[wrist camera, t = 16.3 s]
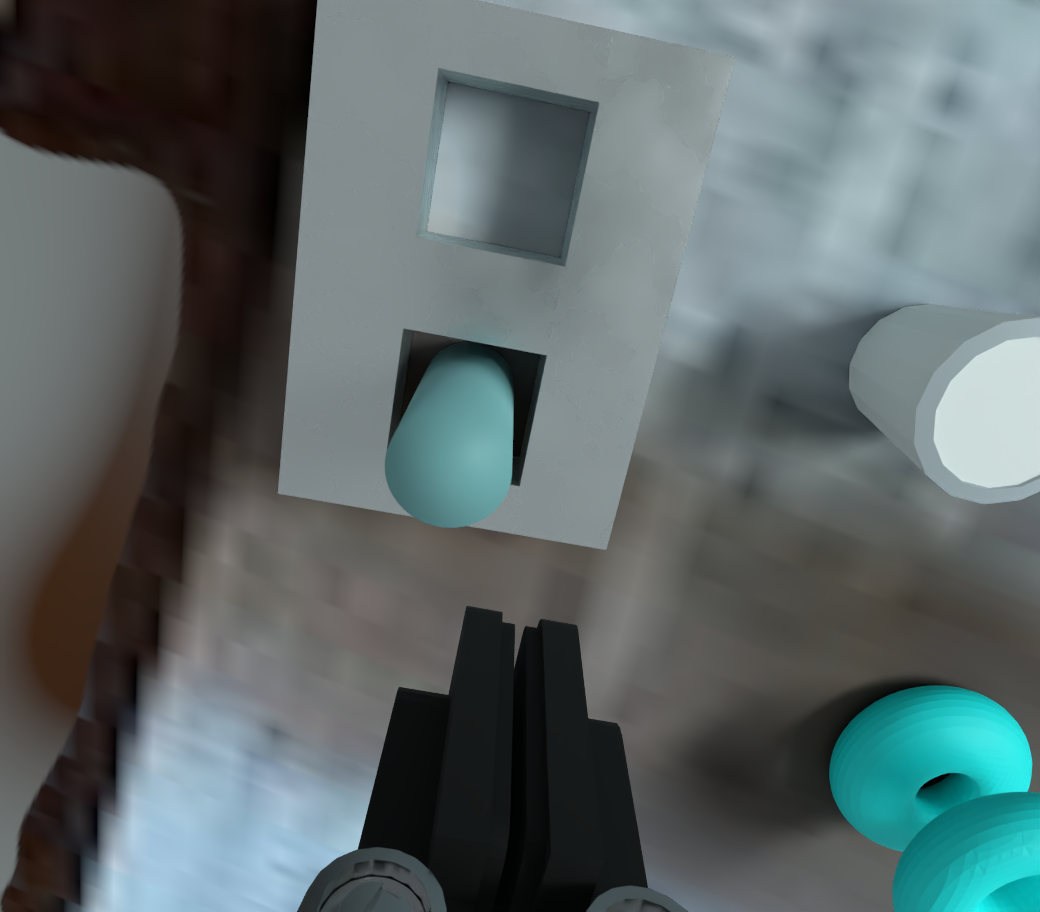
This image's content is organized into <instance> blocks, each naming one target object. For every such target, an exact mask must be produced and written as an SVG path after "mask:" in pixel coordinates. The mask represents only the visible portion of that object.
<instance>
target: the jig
mask: <svg viewBox="0 0 1040 912" xmlns="http://www.w3.org/2000/svg"><path fill="white" fill-rule="evenodd" d="M735 58H736V57H732V56H728V55H723V54H718V53H714V52H709V51H705V50H700V49H696V48H691V47H687V46H682V45H678V44H673V43H669V42H664V41H660V40H655V39H651V38H646V37H642V36H637V35H633V34H628V33H624V32H619V31H614V30H610V29H605V28H601V27H596V26H592V25H587V24H583V23H578V22H574V21H569V20H565V19H560V18H556V17H551V16H547V15H542V14H538V13H533V12H529V11H524V10H520V9H515V8H511V7H506V6H501V5H497V4H492V3H488V2H483V1H479V0H317V13H316V25H315V38H314V50H313V63H312V75H311V88H310V100H309V112H308V125H307V137H306V150H305V162H304V175H303V187H302V200H301V212H300V224H299V237H298V249H297V262H296V274H295V287H294V299H293V312H292V324H291V336H290V349H289V361H288V374H287V386H286V399H285V411H284V424H283V436H282V448H281V461H280V473H279V486H278V494H284V495H289V496H295V497H301V498H307V499H313V500H319V501H324V502H330V503H336V504H342V505H348V506H354V507H359V508H365V509H371V510H377V511H383V512H389V513H394V514H400V515H406V516H411V515H410V514H409V513H407V512H406V511H405V510H404V509H403V508H402V507H401V506H400V505H399V504H398V503H397V501H396V500H395V498H394V497H393V495H392V493H391V491H390V489H389V487H388V484H387V481H386V476H385V457H386V452H387V449H388V446H389V444H390V442H391V440H392V438H393V436H394V434H395V432H396V430H397V428H398V426H399V424H400V420H401V413H402V406H403V399H404V392H405V385H406V377H407V370H408V363H409V356H410V349H411V342H412V335H413V330H415V331H420V332H425V333H431V334H436V335H441V336H447V337H452V338H457V339H463V340H468V341H473V342H478V343H484V344H489V345H494V346H500V347H505V348H510V349H515V350H521V351H526V352H531V353H537V354H541V355H540V360H539V364H538V369H537V374H536V379H535V384H534V389H533V394H532V399H531V404H530V408H529V413H528V418H527V423H526V428H525V433H524V438H523V443H522V448H521V452H520V457H519V456H514V455H513V457H512V478H511V484H510V487H509V490H508V492H507V495H506V497H505V498H504V500H503V502H502V503H501V504H500V505H499V507H498V508H497V509H496V510H495V511H494V512H493V513H492V514H490V515H489V516H487V517H486V518H484V519H482V520H481V521H479V522H476V523H474V524H471V525H467V526H470V527H476V528H482V529H488V530H493V531H499V532H505V533H511V534H517V535H523V536H528V537H534V538H540V539H546V540H552V541H558V542H563V543H569V544H575V545H581V546H587V547H593V548H598V549H604V550H606V549H607V546H608V542H609V538H610V534H611V530H612V527H613V523H614V519H615V515H616V511H617V508H618V504H619V500H620V496H621V492H622V488H623V485H624V481H625V477H626V473H627V469H628V466H629V462H630V458H631V454H632V450H633V447H634V443H635V439H636V435H637V431H638V427H639V424H640V420H641V416H642V412H643V408H644V405H645V401H646V397H647V393H648V389H649V386H650V382H651V378H652V374H653V370H654V366H655V363H656V359H657V355H658V351H659V347H660V344H661V340H662V336H663V332H664V328H665V325H666V321H667V317H668V313H669V309H670V305H671V302H672V298H673V294H674V290H675V286H676V283H677V279H678V275H679V271H680V267H681V264H682V260H683V256H684V252H685V248H686V244H687V241H688V237H689V233H690V229H691V225H692V222H693V218H694V214H695V210H696V206H697V203H698V199H699V195H700V191H701V187H702V183H703V180H704V176H705V172H706V168H707V164H708V161H709V157H710V153H711V149H712V145H713V142H714V138H715V134H716V130H717V126H718V123H719V119H720V115H721V111H722V107H723V103H724V100H725V96H726V92H727V88H728V84H729V81H730V77H731V73H732V69H733V65H734V62H735ZM448 82H452V83H457V84H462V85H466V86H471V87H476V88H480V89H485V90H490V91H495V92H499V93H504V94H509V95H513V96H518V97H523V98H527V99H532V100H537V101H542V102H546V103H551V104H556V105H560V106H565V107H570V108H574V109H579V110H584V111H588V112H590V115H589V120H588V125H587V130H586V135H585V139H584V144H583V149H582V154H581V159H580V164H579V169H578V174H577V179H576V183H575V188H574V193H573V198H572V203H571V208H570V213H569V218H568V223H567V227H566V232H565V237H564V242H563V247H562V252H561V257H560V258H559V257H554V256H549V255H544V254H539V253H534V252H529V251H524V250H519V249H514V248H509V247H504V246H499V245H494V244H489V243H484V242H478V241H473V240H468V239H463V238H458V237H453V236H448V235H443V234H438V233H433V232H428V231H427V227H428V220H429V213H430V206H431V199H432V192H433V184H434V177H435V170H436V163H437V156H438V149H439V142H440V134H441V127H442V120H443V113H444V106H445V99H446V92H447V84H448ZM412 517H413V516H412Z"/></svg>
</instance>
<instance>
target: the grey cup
mask: <svg viewBox="0 0 1040 912" xmlns="http://www.w3.org/2000/svg"><path fill="white" fill-rule="evenodd" d="M849 390H850V392H851V395H852V397H853V399H854V402H855V404H856V406H857V409H858V410H859V411H860V412H861V413H863V414H864V415H865V416H866V417H867V418H868V419H869V420H870V421H871V422H872V423H873V424H874V425H875V426H876V427H877V428H878V429H879V430H880V431H881V432H882V433H883V434H884V435H885V436H886V437H887V438H889V439H890V440H891V441H892V442H893V443H894V444H895V445H896V446H897V447H898V448H899V449H900V450H901V451H902V452H903V453H904V454H905V455H906V456H907V457H908V458H909V459H910V460H911V461H912V462H914V463H915V464H916V465H917V466H918V467H919V468H920V469H921V470H922V471H923V472H924V473H925V474H926V475H927V476H928V477H930V478H931V479H932V480H933V481H934V482H935V483H937V484H938V485H939V486H940V487H941V488H942V489H944V490H945V491H946V492H947V493H948V494H950V495H951V496H955V497H959V498H962V499H966V500H970V501H974V502H977V503H981V504H989V503H998V502H1007V501H1016V500H1022V499H1024V498H1026V497H1028V496H1031V495H1033V494H1035V493H1037V492H1039V491H1040V316H1031V315H1023V314H1014V313H1005V312H996V311H988V310H979V309H970V308H962V307H953V306H944V305H935V304H925V305H917V306H909V307H903V308H901V309H899V310H897V311H895V312H894V313H892V314H890V315H888V316H886V317H884V318H882V319H880V320H879V321H878V322H877V323H876V324H875V325H874V326H873V327H872V328H871V329H870V330H869V331H868V332H867V333H866V334H865V335H864V337H863V338H862V339H861V340H860V342H859V344H858V346H857V348H856V351H855V353H854V355H853V357H852V360H851V362H850V367H849Z"/></svg>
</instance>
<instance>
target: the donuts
mask: <svg viewBox="0 0 1040 912" xmlns="http://www.w3.org/2000/svg"><path fill="white" fill-rule="evenodd" d="M947 773H951V774H950V775H949V776H947V777H946V778H945V779H943V780H942V781H940V782H938V783H936V784H934V785H932V786H929V787H925V788H922V789H920V788H921V787H922V786H923V785H924V784H925V783H926V782H928V781H929V780H931V779H933V778H935V777H937V776H940V775H943V774H947ZM1031 773H1032V757H1031V752H1030V748H1029V744H1028V741H1027V739H1026V736H1025V734H1024V733H1023V731H1022V729H1021V727H1020V726H1019V724H1018V723H1017V722H1016V720H1015V719H1014V718H1013V717H1012V716H1011V715H1010V714H1009V713H1008V712H1007V711H1006V710H1005V709H1004V708H1003V707H1002V706H1000V705H999V704H997V703H996V702H994V701H993V700H991V699H989V698H988V697H986V696H984V695H982V694H979V693H977V692H974V691H971V690H967V689H963V688H959V687H954V686H944V685H930V686H921V687H914V688H909V689H905V690H901V691H898V692H895V693H893V694H890V695H888V696H886V697H883V698H881V699H880V700H878V701H876V702H874V703H873V704H871V705H870V706H868V707H867V708H865V709H864V710H863V711H861V712H860V713H859V714H858V715H857V716H856V717H855V718H854V719H853V720H852V721H851V722H850V723H849V724H848V725H847V727H846V728H845V729H844V730H843V732H842V733H841V735H840V736H839V738H838V740H837V742H836V744H835V747H834V749H833V752H832V756H831V761H830V768H829V779H830V785H831V791H832V794H833V797H834V799H835V802H836V804H837V806H838V808H839V809H840V811H841V813H842V814H843V816H844V817H845V818H846V819H847V821H848V822H849V823H850V824H851V825H852V826H853V827H854V828H855V829H856V830H857V831H859V832H860V833H861V834H863V835H864V836H865V837H867V838H869V839H870V840H872V841H874V842H876V843H878V844H880V845H883V846H885V847H888V848H890V849H894V850H897V851H902V852H903V854H902V856H901V858H900V860H899V862H898V865H897V869H896V872H895V876H894V880H893V906H894V911H895V912H1040V793H1035V792H1027V791H1028V788H1029V785H1030V781H1031Z"/></svg>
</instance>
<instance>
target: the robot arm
mask: <svg viewBox="0 0 1040 912" xmlns="http://www.w3.org/2000/svg"><path fill="white" fill-rule="evenodd" d="M514 645H515V624H511V623H505V622H502V612H499V611H493V610H488V609H482V608H476V607H471V606H467V607H466V611H465V616H464V621H463V625H462V630H461V635H460V640H459V645H458V650H457V655H456V660H455V665H454V670H453V675H452V680H451V685H450V690H449V695H444V694H438V693H432V692H426V691H420V690H414V689H408V688H402V687H399V688H398V691H397V695H396V698H395V703H394V707H393V711H392V715H391V719H390V723H389V727H388V731H387V735H386V739H385V743H384V747H383V751H382V755H381V759H380V763H379V767H378V771H377V775H376V779H375V783H374V787H373V791H372V795H371V799H370V803H369V807H368V811H367V815H366V819H365V823H364V827H363V831H362V835H361V839H360V843H359V847H358V850H355V851H353V852H350V853H348V854H346V855H343V856H341V857H339V858H336V859H335V860H334V861H333V862H332V863H330V864H329V865H328V866H327V867H325V868H324V869H323V870H322V871H320V873H319V874H318V875H317V877H316V878H315V880H314V881H313V883H312V884H311V886H310V887H309V889H308V890H307V892H306V894H305V896H304V899H303V901H302V903H301V905H300V907H299V909H298V911H297V912H688V911H687V910H686V909H684V908H683V907H682V906H680V905H679V904H678V903H676V902H675V901H674V900H673V899H671V898H670V897H668V896H666V895H663V894H661V893H659V892H657V891H654V890H652V889H650V888H648V886H647V880H646V874H645V868H644V862H643V856H642V851H641V845H640V839H639V833H638V827H637V821H636V815H635V809H634V804H633V798H632V792H631V786H630V780H629V774H628V768H627V763H626V757H625V751H624V745H623V739H622V734H621V730H620V727H619V726H618V724H617V723H612V722H606V721H600V720H594V719H588V713H587V705H586V696H585V687H584V678H583V669H582V661H581V652H580V643H579V634H578V628H577V626H576V625H573V624H568V623H562V622H556V621H550V620H545V619H541V620H540V621H539V624H538V627H537V628H534V627H528V626H525V628H524V631H523V635H522V639H521V643H520V647H519V651H518V656H517V660H516V664H515V668H514Z"/></svg>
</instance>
